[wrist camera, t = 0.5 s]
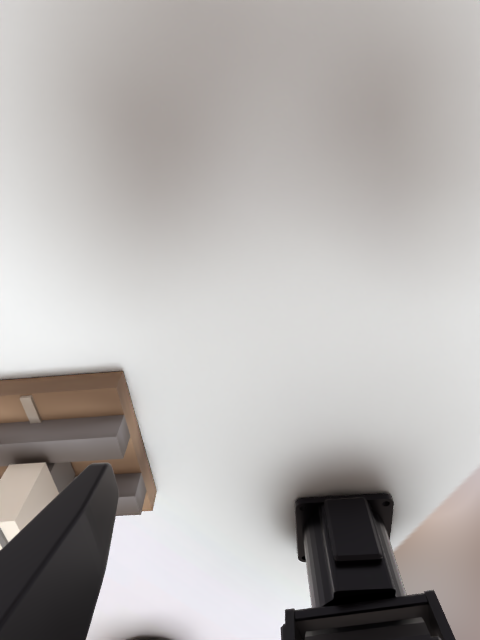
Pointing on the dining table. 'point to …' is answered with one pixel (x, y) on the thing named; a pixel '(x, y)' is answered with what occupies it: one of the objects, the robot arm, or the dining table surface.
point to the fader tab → (29, 493)
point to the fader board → (79, 405)
